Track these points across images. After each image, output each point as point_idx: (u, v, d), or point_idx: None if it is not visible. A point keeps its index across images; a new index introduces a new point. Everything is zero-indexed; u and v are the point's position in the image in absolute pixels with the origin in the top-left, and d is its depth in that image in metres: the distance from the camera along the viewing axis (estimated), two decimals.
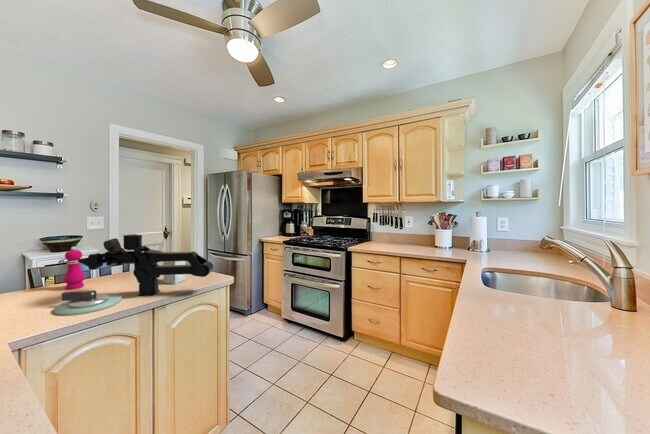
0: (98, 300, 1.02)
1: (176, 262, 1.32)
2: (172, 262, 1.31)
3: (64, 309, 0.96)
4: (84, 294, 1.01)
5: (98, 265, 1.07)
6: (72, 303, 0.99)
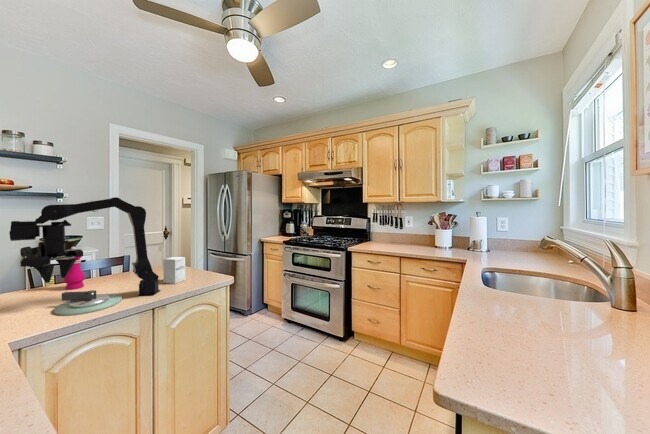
0: (98, 300, 1.02)
1: (176, 262, 1.32)
2: (172, 262, 1.31)
3: (64, 309, 0.96)
4: (84, 294, 1.01)
5: (38, 257, 0.88)
6: (72, 303, 0.99)
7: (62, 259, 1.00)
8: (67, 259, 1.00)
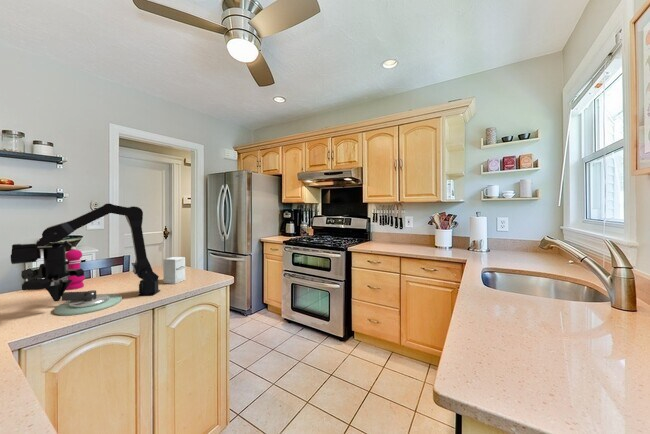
0: (98, 300, 1.02)
1: (176, 262, 1.32)
2: (172, 262, 1.31)
3: (64, 309, 0.96)
4: (84, 294, 1.01)
5: (39, 280, 0.88)
6: (72, 303, 0.99)
7: None
8: (61, 282, 0.97)
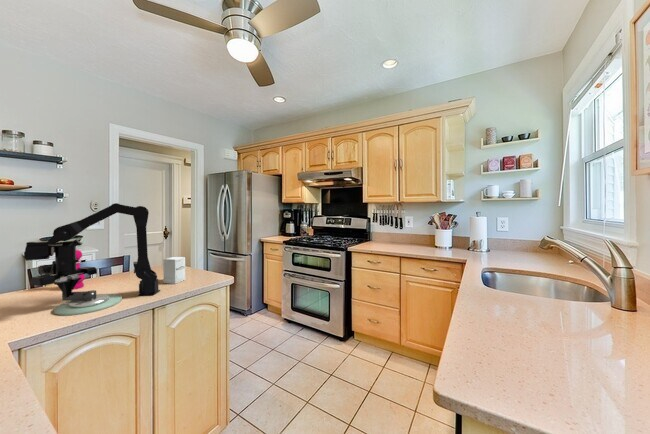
0: (98, 300, 1.02)
1: (176, 262, 1.32)
2: (172, 262, 1.31)
3: (64, 309, 0.96)
4: (84, 294, 1.01)
5: (43, 277, 0.92)
6: (72, 303, 0.99)
7: (67, 279, 1.02)
8: (70, 279, 1.01)
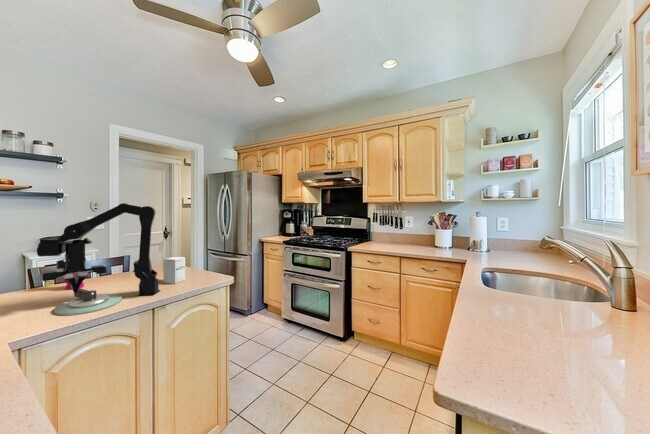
0: (90, 302, 1.00)
1: (176, 262, 1.32)
2: (172, 262, 1.31)
3: (64, 309, 0.96)
4: (83, 294, 1.02)
5: (47, 272, 0.97)
6: (72, 301, 1.01)
7: (77, 275, 1.05)
8: (78, 276, 1.04)
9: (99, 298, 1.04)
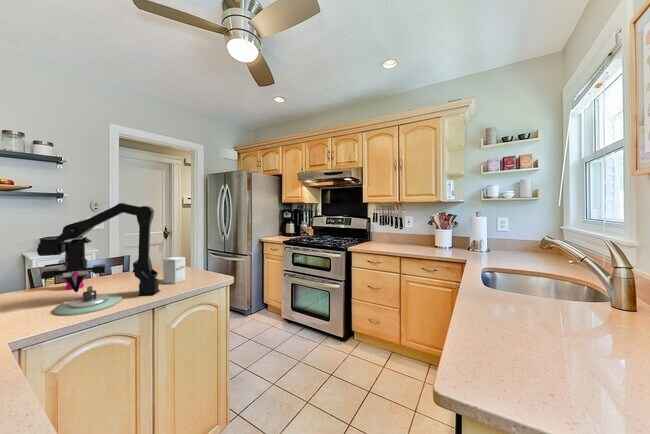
0: (83, 303, 0.99)
1: (176, 262, 1.32)
2: (172, 262, 1.31)
3: (64, 309, 0.96)
4: None
5: (46, 271, 1.00)
6: (75, 299, 1.03)
7: (79, 274, 1.07)
8: (78, 275, 1.05)
9: (96, 299, 1.03)
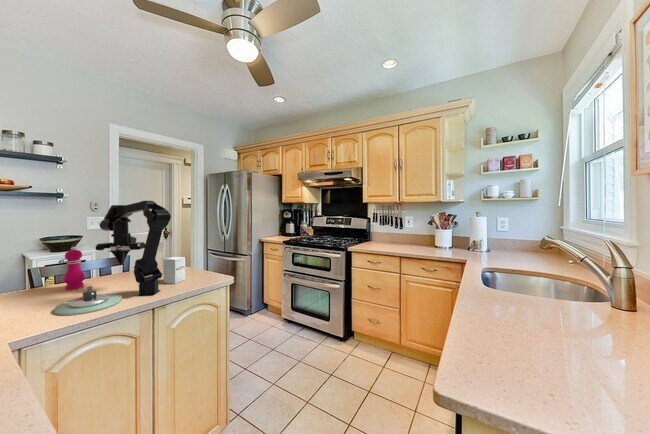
0: (83, 303, 0.99)
1: (176, 262, 1.32)
2: (172, 262, 1.31)
3: (64, 309, 0.96)
4: None
5: (100, 243, 1.20)
6: (75, 299, 1.03)
7: None
8: None
9: (96, 299, 1.03)
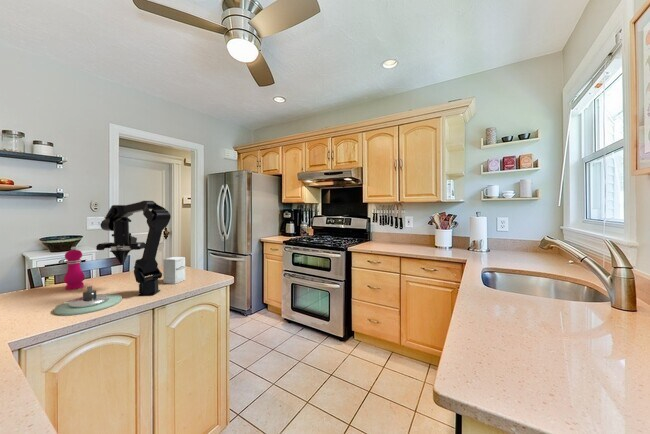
0: (83, 303, 0.99)
1: (176, 262, 1.32)
2: (172, 262, 1.31)
3: (64, 309, 0.96)
4: None
5: (100, 243, 1.20)
6: (75, 299, 1.03)
7: None
8: None
9: (96, 299, 1.03)
